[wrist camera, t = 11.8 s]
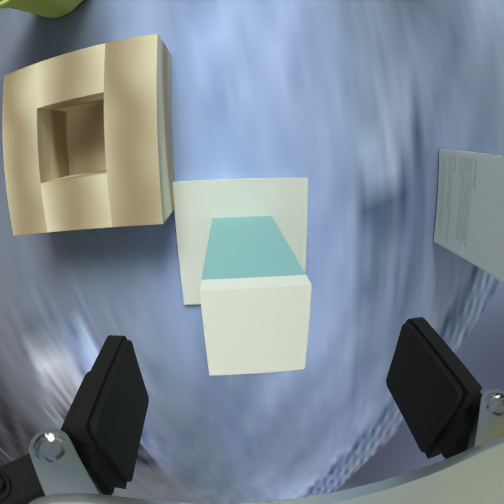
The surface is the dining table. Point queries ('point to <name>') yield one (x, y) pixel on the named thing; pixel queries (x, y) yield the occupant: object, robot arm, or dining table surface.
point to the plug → (253, 299)
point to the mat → (234, 205)
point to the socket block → (90, 138)
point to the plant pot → (42, 6)
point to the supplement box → (472, 208)
